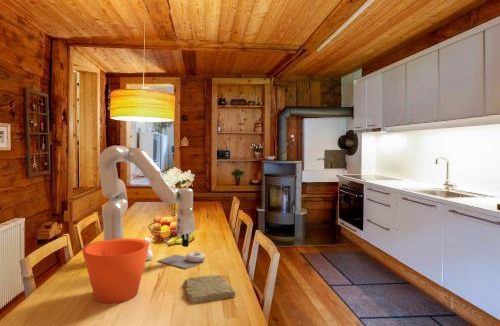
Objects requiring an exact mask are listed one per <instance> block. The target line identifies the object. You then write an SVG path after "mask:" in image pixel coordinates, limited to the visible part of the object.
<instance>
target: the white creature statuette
mask: <svg viewBox="0 0 500 326" xmlns="http://www.w3.org/2000/svg"><path fill="white" fill-rule="evenodd" d="M142 240H144V241H146V242H148V243H149V247H148V251H147V255H146V260H145V262H149V261H151V260H152V259H153V258H154V256H153V255H154V253H153V251H152V248H151V246H150V244H151V242H152V241H153V238H152V237H151V238H149V237H147V236H146V237H144V238H142Z"/></svg>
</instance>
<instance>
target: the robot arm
mask: <svg viewBox="0 0 500 326" xmlns="http://www.w3.org/2000/svg"><path fill="white" fill-rule="evenodd" d="M120 162H121V163H131V164H133V165H134V166H135V167H136V168H137V170H138V171H139V172H140V173H141V174H142V176H143V177H144V178H145V179H146V181H147V182H148V184H149V185H150V187H151V188H152V190H153V191H154V192H155V194H156V195H157V197H158V198H159V199H160V200H161V201H162V202H163V203H165V204H167V205H171V204H173V203H175V202H178V206H177V207H178V210H177V218H176V224H175V225H176V226H175V227H176V228H175V230H176V231H175V232H176V234H177V238H180V239H181V246H182V247H184V248H188V247H189V243H190V242H189V241H190V240H189V239H190V237H191V235H192V234H193V233H195V231H196V221H195V219H196V218H195V214H194V190H193V189H192V188H191V187H190V188H188V187H183V188H179V187H178V188H177V187H171V186H170V185H169V184H168V182H167V181H166V180H165V179H164V176H163V173H162V169H161V168H160V167H159V166H158V165H157V164H156V162H155V161H154V160H153V159H152V157H151V153H150V151H148V150H147V149H145V148H140V147H139V148H138V147H132V146H125V145H112V146H109V147H107V148H105V149H104V150H103V151H102V152H101V153H100V155H99V158H98V170H99V178H100V186H101V193H102V195H103V196H104V198H108V199H109V200H108V201H107V202H106V203H105V204H104V205H103V207H102V212H101V214H102V215H101V216H102V222H103V223H102V224H103V240H109V239H121V238H124V222H123V215H124V214H125V213H126V212H128V211H127V210H128V209H129V208H128V207H129V204H128V203H129V202H128V195H127V193H128V192H127V187H126V184H125V182H124V181H123V180H122V179H121V178H119V175H118V173H119V172H118V169H117V163H120Z"/></svg>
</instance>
